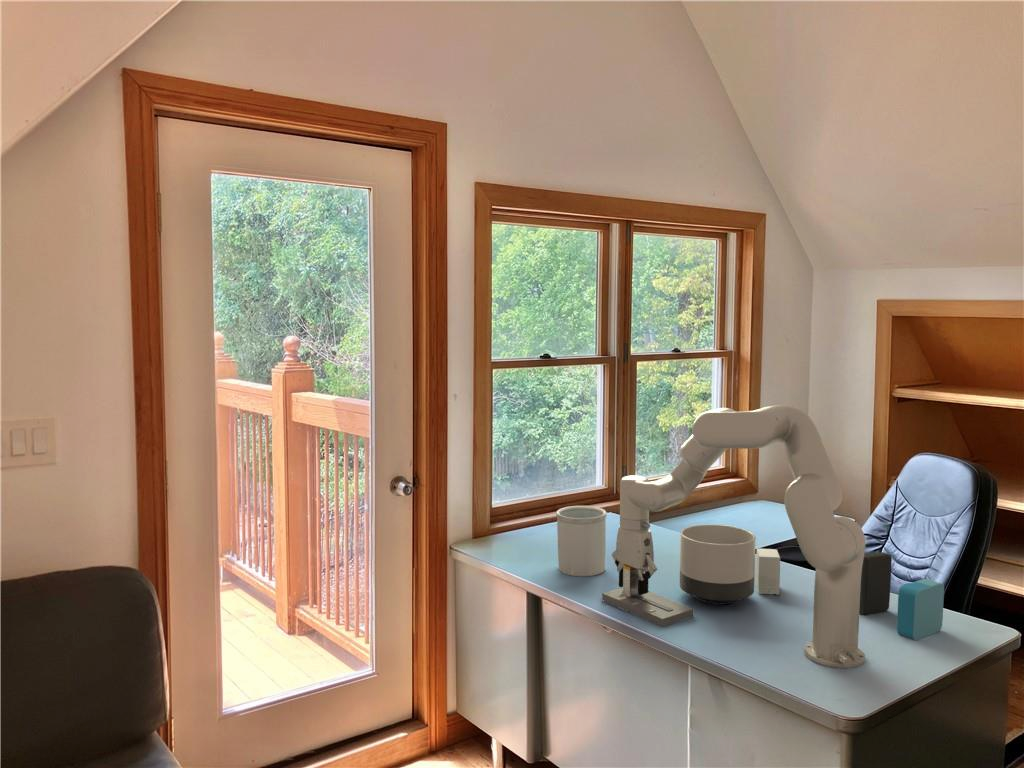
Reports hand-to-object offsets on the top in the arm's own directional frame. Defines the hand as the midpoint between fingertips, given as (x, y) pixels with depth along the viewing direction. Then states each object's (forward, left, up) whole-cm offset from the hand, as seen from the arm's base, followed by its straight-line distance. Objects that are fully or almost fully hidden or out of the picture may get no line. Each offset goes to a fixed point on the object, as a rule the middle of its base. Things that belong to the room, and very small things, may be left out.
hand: (633, 589), depth 220 cm
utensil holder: (+28, +10, -4) cm, 30 cm away
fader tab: (0, 0, -1) cm, 1 cm away
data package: (-23, -65, -4) cm, 69 cm away
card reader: (-9, -60, -4) cm, 61 cm away
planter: (+2, -23, -4) cm, 23 cm away
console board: (-4, -3, -4) cm, 6 cm away
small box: (+8, -39, -4) cm, 40 cm away
